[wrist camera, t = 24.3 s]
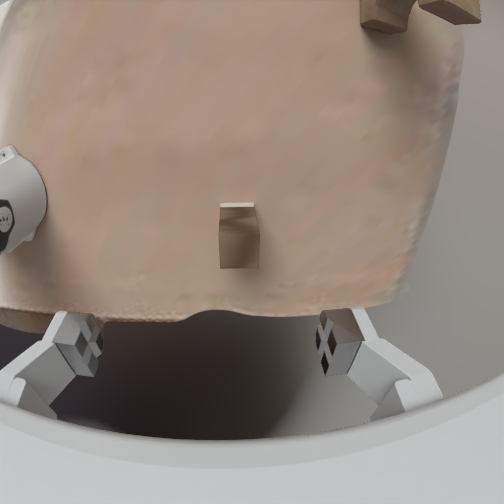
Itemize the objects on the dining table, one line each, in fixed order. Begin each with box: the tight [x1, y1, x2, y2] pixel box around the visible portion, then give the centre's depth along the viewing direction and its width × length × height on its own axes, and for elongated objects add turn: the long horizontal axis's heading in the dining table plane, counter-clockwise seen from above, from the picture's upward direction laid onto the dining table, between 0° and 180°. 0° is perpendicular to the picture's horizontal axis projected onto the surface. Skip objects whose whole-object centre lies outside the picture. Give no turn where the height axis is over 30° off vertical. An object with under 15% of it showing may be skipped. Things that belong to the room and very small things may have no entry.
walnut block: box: [219, 203, 260, 269], centre depth 41 cm, size 5×5×10 cm
